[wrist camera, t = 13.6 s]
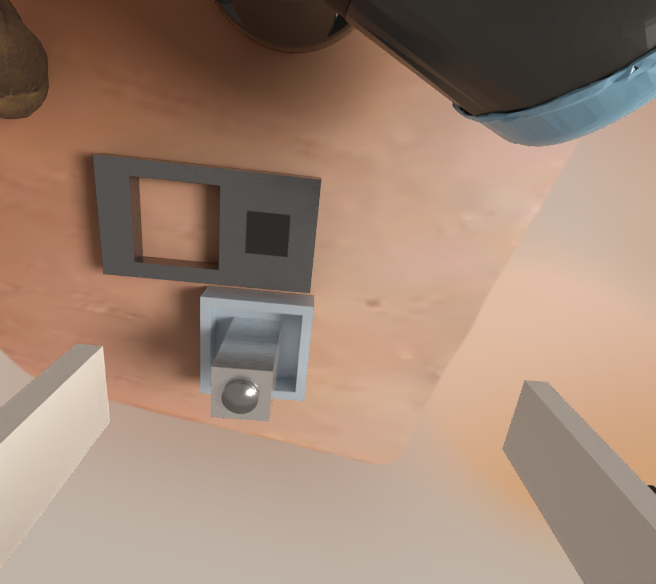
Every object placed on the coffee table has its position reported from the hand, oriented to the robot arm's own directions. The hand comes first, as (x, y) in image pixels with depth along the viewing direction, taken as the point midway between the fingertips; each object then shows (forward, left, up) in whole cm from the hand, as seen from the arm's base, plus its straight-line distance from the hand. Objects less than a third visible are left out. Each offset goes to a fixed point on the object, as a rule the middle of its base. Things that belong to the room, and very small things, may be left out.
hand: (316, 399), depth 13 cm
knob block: (+13, -5, -28) cm, 31 cm away
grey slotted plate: (+1, -10, -29) cm, 30 cm away
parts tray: (+13, -5, -29) cm, 32 cm away
